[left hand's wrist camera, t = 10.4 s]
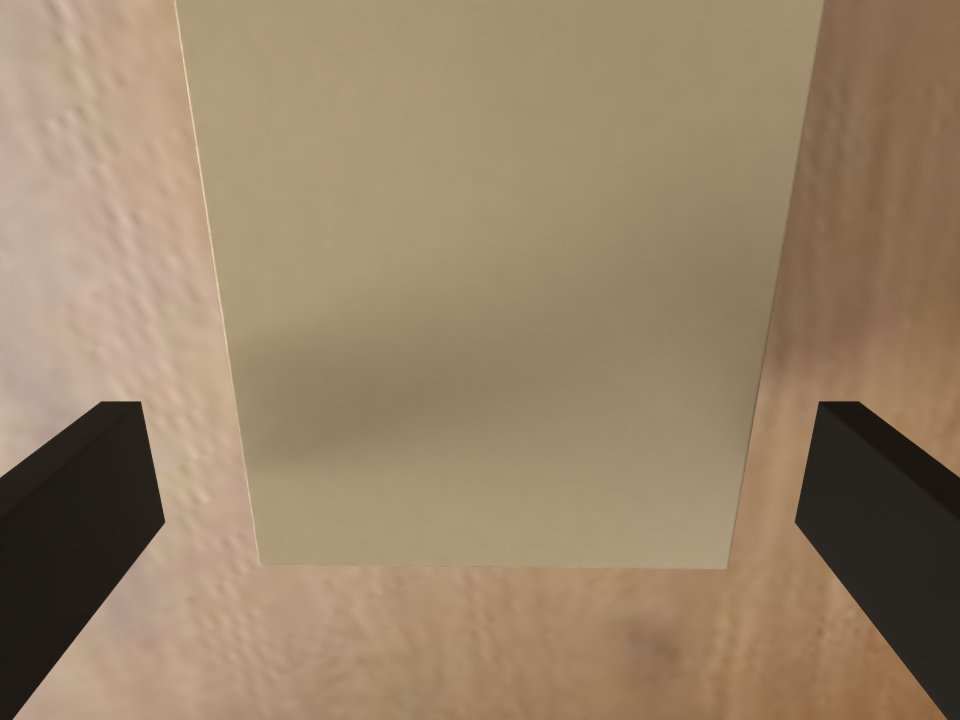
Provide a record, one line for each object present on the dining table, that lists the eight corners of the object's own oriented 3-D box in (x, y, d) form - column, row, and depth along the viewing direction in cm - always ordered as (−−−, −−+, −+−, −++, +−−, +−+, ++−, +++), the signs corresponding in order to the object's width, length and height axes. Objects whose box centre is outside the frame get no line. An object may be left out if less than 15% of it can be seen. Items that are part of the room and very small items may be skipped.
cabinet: (279, -376, 16) (27, -950, 7) (717, -380, 16) (994, -971, 7) (343, 396, 24) (257, 565, 15) (640, 398, 23) (728, 570, 15)
